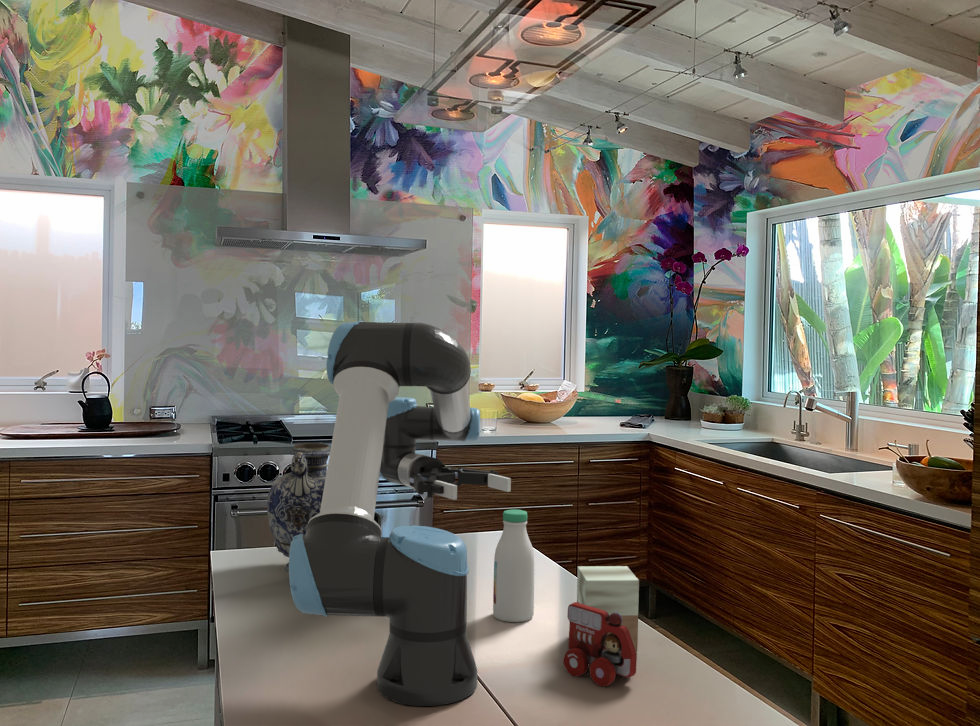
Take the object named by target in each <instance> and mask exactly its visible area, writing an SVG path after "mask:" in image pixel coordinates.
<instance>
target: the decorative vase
mask: <svg viewBox="0 0 980 726" xmlns="http://www.w3.org/2000/svg"><path fill="white" fill-rule="evenodd" d="M330 450H331V447H330V445H329V444H326V443H323V442H318V443H316V442H312V443H311V442H306V443H305V442H303V443H297V444H296V443H295V444H294V445H293V448H291V449H290V450H289V454H290V455H291V456H292V458H291V467H290V472H288V473H286V474H283V475H282V476H280V477H279V478H278V479H276V480H275V482H274V483H273V484H272V485H271V487H270V489H269V491H268V495H267V503H266V505H267V506H266V507H267V520H268V525H269V528H270V531H271V533H272V537H273V542H274V543H275V546H276V549H277V551H278V552H279V553H281V554H282V555H283V556H284V557H287V558H289V552H290V545H291V542H292V539H293V538H294V536H296V535H299V534H303V535H305V534H306V530H307V525H308V522H309V520H310V519H311V518H312V517H314V516H315V515H317V514H319V513H320V508H321V502H322V497H323V491H324V485H325V479H326V473H327V468H328V463H327V462H328V461H329V456H330ZM284 571H285V572H286V573H288V574H289V561H288V562H287V563H286V564H285V566H284Z"/></svg>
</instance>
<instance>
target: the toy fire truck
mask: <svg viewBox="0 0 980 726" xmlns="http://www.w3.org/2000/svg"><path fill="white" fill-rule="evenodd" d="M567 620H568V621H569V627H568V628H569V629H568V645H567V646H568V649H567V651H566V652H565V653H564V656H563V665H564V668H565V671H567V673H568V674H569V675H571V676H572V677H580V676H582V675H584V674H586V673H587V672H588V670H589V675H590V678H591V679H592V681H593V683H595V684H596V685H598V686H599V687H607V686H609V685H612V684H613V682H615V678H616V675H617V676H618V677H624V678H627V679H628V678H631V677H634V676H635V675H636V673H637V661H638V652H637V650H635V647H634V644H633V641H632V638H631V635H630V632H629V630H628V628H627V627H626V626H624V625H621V623H622V617H621V615H620V614H618V613H612V614H611V615H610V616H609V614H608V612H606V611H604V610H601V609H597V608H594V607H590V606H587V605H584V604H581V603H577V601H576V602H572V603H570V604H569V605H568V607H567ZM608 633H610V634H608ZM607 634H608V635H607Z"/></svg>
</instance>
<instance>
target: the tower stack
mask: <svg viewBox="0 0 980 726" xmlns="http://www.w3.org/2000/svg"><path fill="white" fill-rule="evenodd" d="M576 579H577V583H576V584H577V585H576V602H577V603H581V604H584V605H587V606H590V607H594V608H597V609H601V610H604V611H606V612H608V614H609V616H610V615H611V614H612V613H618V614H620V615H621V617H622V623H621V625H624V626H626V627H627V628H628V630H629V632H630V635H631V638H632V641H633V644H634V647H635V650H636V651H638V646H639V645H638V642H639V641H638V639H639V635H638V634H639V633H638V632H639V597H640V595H639V594H640V593H639V591H640V579H639V578H638V577H636V575H635V574H634V572H632V570H631V569H630V568H629V566H627V565H625V566H624V565H623V566H621V565H615V566H614V565H607V566H605V565H604V566H603V565H600V566H599V565H595V566H593V565H592V566H591V565H590V566H589V565H588V566H587V565H586V566H585V565H584V566H583V565H580V566H578V565H577V578H576ZM608 634H610V633H608ZM608 634H607V635H608Z"/></svg>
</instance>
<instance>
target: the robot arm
mask: <svg viewBox="0 0 980 726" xmlns="http://www.w3.org/2000/svg"><path fill="white" fill-rule="evenodd" d="M470 361H471V360H470V357H469V356H468V354H467V352H466V350H465V349H464V347H463V346H462V345H461V344H460V343H459V341H458V340H456V339H455V338H454V337H453V336H452V335H450V334H449V333H448V332H446V331H444V330H442V329H441V328H439V327H437V326H435V325H431V324H428V323H423V322H389V321H388V322H385V321H383V322H379V321H376V322H374V321H365V320H358V321H354V322H353V321H351V322H350V321H349V322H343V323H341V324H339V325H338V326H337V327H336V328H335V330H334V331H333V333H332V335H331V337H330V341H329V344H328V348H327V359H326V365H325V366H326V376H327V379H328V381H329V383H330V384H332V387H333V389H334V391H335V392H336V394H337V396H339V399H338V403H337V404H338V405H337V409H336V410H337V411H336V416H335V423H334V427H333V434H332V438H331V439H332V440H331V447H330V449H331V450H330V455H329V456H328V461H327V462H328V463H327V464H328V466H327V473H326V479H325V485H324V491H323V497H322V502H321V508H320V513H319V514H317V515H315V516H314V517H312V518H311V519H310V520H309V522H308V525H307V530H306V534H305V535H303V534H299V535H296V536H294V538H293V539H292V542H291V545H290V552H289V557H288V562H289V573H288V576H289V577H288V579H289V587H290V588H289V590H290V593H291V598H292V601H293V603H294V606H295V608H296V609H297V610H298V611H299V612H301V613H303V614H305V615H315V616H316V615H317V616H323V617H329V616H336V617H337V616H338V617H339V616H341V617H342V616H348V617H350V616H352V617H387V618H389V628H388V629H389V631H388V632H389V633H388V638H387V640H386V644H385V646H384V649H383V653H382V655H381V659H380V661H379V665H378V668H377V671H376V672H377V673H376V688H377V691H378V693H380V695H382V696H383V697H385V698H386V699H388V700H389V701H392V702H395V703H398V704H402V705H406V706H416V707H434V706H435V707H436V706H443V705H448V704H452V703H456V702H457V703H458V702H459V701H463V700H464V699H466V698H468V697H469V696H470V695H472V694H473V693H474V692H475V691H476V690H477V688H478V668H477V665H476V661H475V656H474V654H473V651H472V647H471V645H470V642H469V637H468V635H467V620H468V619H467V616H468V615H467V614H468V609H467V606H468V605H467V604H468V602H467V601H468V600H467V599H468V595H467V594H468V593H467V592H468V574H469V571H470V568H469V565H468V549H467V545H466V543H465V542H464V540H463V539H462V538H461V537H460V536H459V535H457V534H455V533H453V532H450V531H449V530H445V529H441V528H436V527H432V526H426V525H423V526H422V525H401V526H395V528H393V529H392V530H391V532H390V534H389V537H388V536H382V527H381V526H380V524H379V523H378V522H377V521H376V520H375V511H376V504H377V497H378V496H377V495H378V488H379V480H380V478H381V479H383V480H385V481H387V482H390V483H393V484H397V485H401V486H405V487H409V488H411V489H412V490H413V491H416V493H417V494H418V495H420V496H421V495H424V494H425V493H427V494H426V498H434V495H435V496H439V497H443V498H446V499H449V500H453V501H456V500H458V487H460V486H462V485H477V486H487V487H488V488H491V489H495V490H500V491H503V492H507V493H509V492H512V491H511V490H512V489H511V487H512V486H511V485H512V478H511V477H507V476H503V475H500V474H499V472H498V471H494V470H495V469H490V470H479V469H470V468H465V467H464V468H463V467H458V468H451V467H447V466H446V465H445V464H444V463H443V461H442V460H441V459H440V458H437V457H432V456H428V455H424V454H421V453H420V454H419V453H416V446H417V443H416V442H417V441H418V440H419V441H423V440H424V441H451V442H453V441H454V442H467V441H468V442H469V441H470V442H471V441H472V442H473V441H477V440H479V439H480V433H481V411H480V409H479V408H477V407H471V406H470V398H469V388H468V382H469V381H470V377H471V371H472V370H471V369H472V368H471V362H470ZM400 387H425V388H427V389H428V390H429V391H430V397H431V399H432V400H431V401H432V403H433V406H420V405H418V404H417V399H416V398H413V397H405V396H403V397H401V396H398V395H399V393H400ZM456 478H457V482H456Z"/></svg>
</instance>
